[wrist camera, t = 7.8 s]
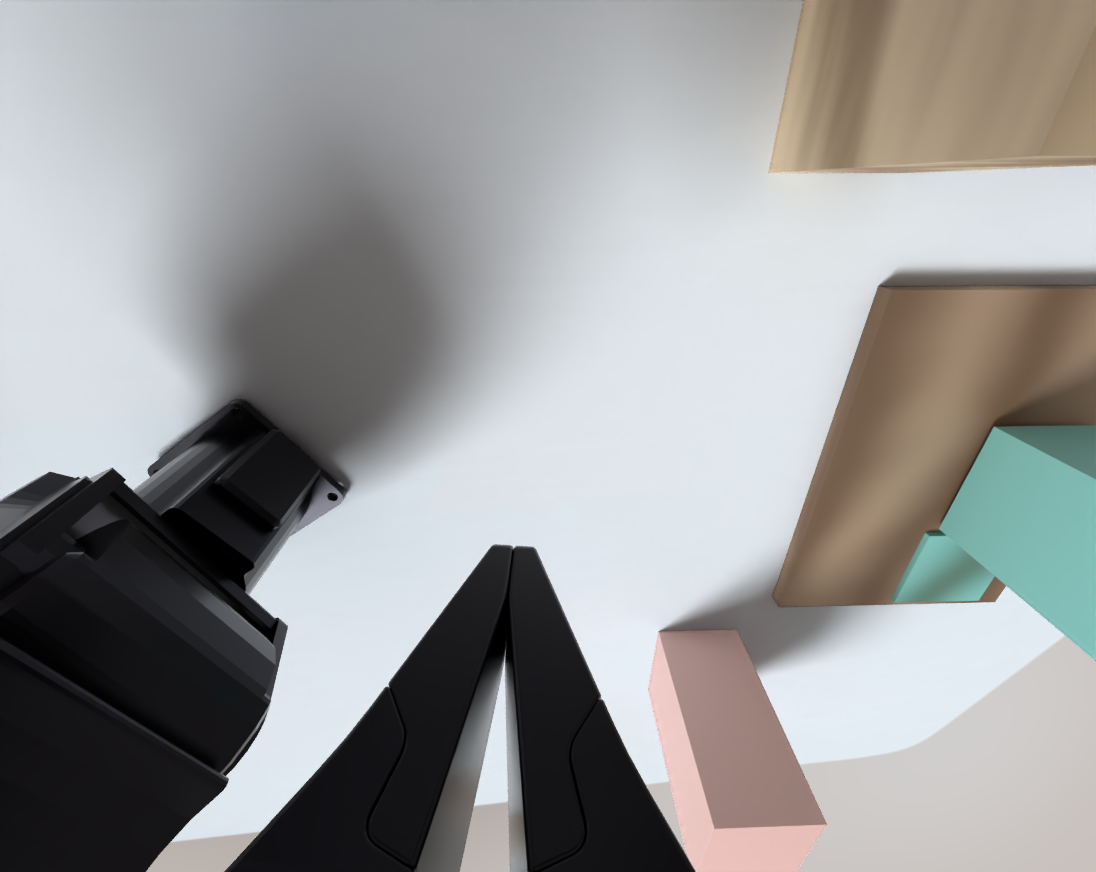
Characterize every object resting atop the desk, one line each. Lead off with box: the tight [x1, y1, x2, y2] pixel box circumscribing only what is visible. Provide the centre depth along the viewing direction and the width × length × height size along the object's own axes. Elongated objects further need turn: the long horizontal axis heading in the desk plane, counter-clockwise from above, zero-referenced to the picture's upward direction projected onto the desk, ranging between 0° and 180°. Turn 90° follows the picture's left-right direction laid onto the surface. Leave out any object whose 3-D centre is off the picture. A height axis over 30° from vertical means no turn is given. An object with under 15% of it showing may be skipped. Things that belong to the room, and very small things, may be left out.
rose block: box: [648, 629, 827, 872], centre depth 26 cm, size 5×6×10 cm
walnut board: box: [773, 285, 1096, 607], centre depth 22 cm, size 13×18×1 cm
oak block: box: [769, 0, 1096, 173], centre depth 11 cm, size 5×6×10 cm
